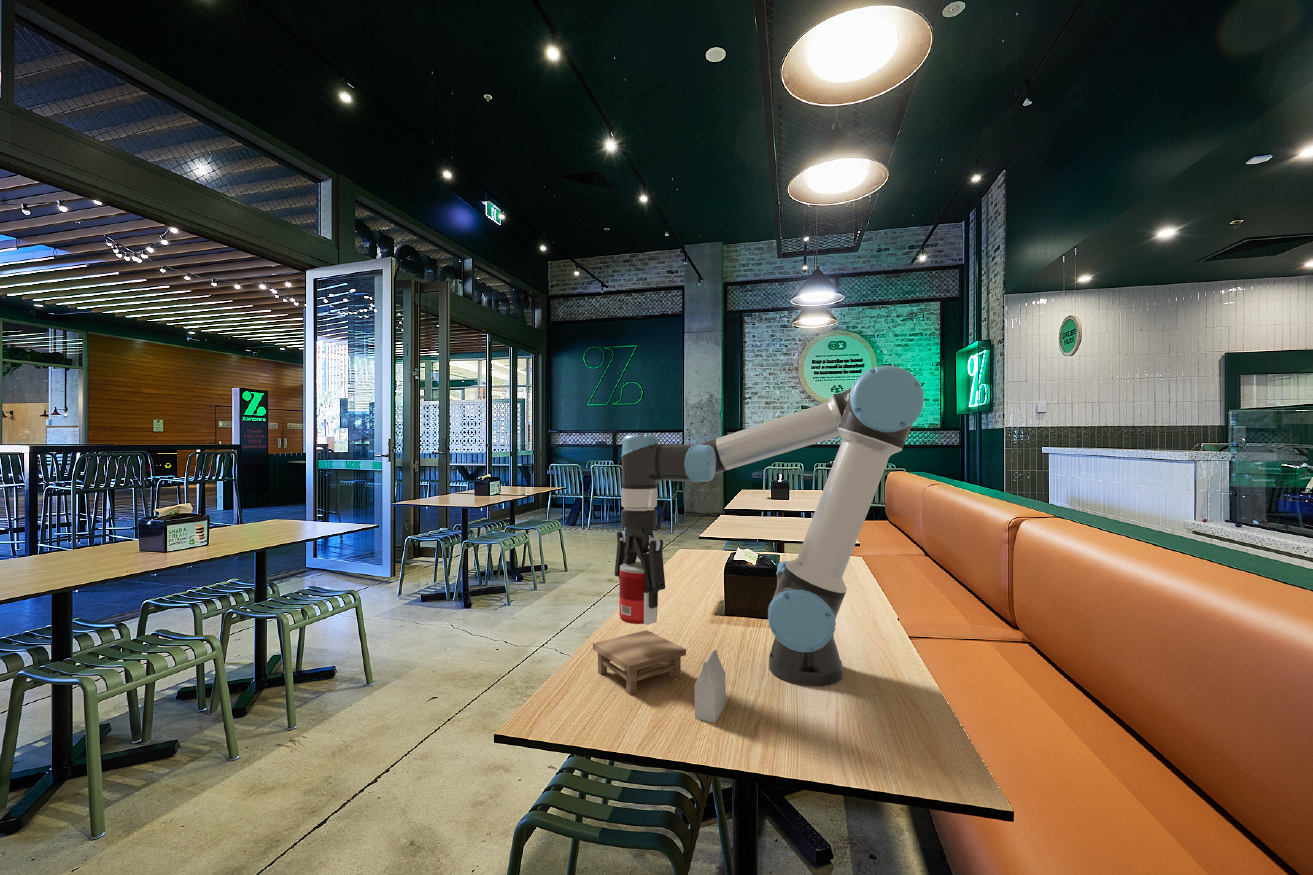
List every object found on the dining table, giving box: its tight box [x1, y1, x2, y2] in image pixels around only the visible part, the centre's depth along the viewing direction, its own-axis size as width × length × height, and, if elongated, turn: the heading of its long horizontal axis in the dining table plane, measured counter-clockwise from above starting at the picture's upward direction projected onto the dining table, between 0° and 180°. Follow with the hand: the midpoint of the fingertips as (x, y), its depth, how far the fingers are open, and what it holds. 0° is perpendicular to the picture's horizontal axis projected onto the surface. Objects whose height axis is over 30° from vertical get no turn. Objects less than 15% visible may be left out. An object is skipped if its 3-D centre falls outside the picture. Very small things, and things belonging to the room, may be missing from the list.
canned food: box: [618, 561, 652, 625], centre depth 111 cm, size 8×8×11 cm
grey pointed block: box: [694, 649, 727, 724], centre depth 95 cm, size 4×7×10 cm, turn 157°
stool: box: [592, 629, 687, 695], centre depth 110 cm, size 14×14×6 cm
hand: (638, 617), depth 110 cm, fingers closed on canned food, 8 cm apart
